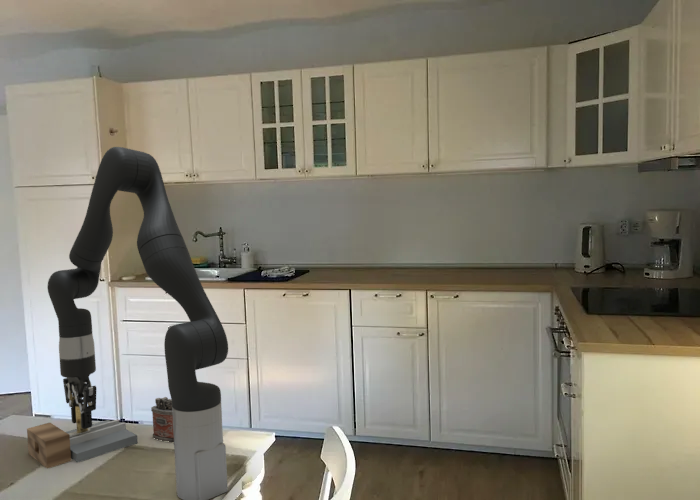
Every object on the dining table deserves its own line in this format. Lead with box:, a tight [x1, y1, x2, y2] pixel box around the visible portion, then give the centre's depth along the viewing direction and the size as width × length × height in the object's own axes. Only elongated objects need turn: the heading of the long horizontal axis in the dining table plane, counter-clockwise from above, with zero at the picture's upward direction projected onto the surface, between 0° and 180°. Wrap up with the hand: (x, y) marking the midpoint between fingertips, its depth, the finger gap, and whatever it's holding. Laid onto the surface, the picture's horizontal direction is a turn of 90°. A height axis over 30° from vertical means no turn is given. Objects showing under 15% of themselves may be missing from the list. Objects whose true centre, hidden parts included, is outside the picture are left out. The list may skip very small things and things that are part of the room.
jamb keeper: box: [26, 422, 72, 469], centre depth 131 cm, size 12×5×6 cm, turn 46°
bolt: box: [69, 405, 91, 438], centre depth 134 cm, size 2×9×8 cm, turn 136°
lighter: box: [150, 396, 174, 443], centre depth 140 cm, size 8×3×10 cm, turn 62°
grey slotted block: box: [65, 419, 139, 463], centre depth 139 cm, size 16×14×4 cm
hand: (81, 424), depth 137 cm, fingers open, 5 cm apart
